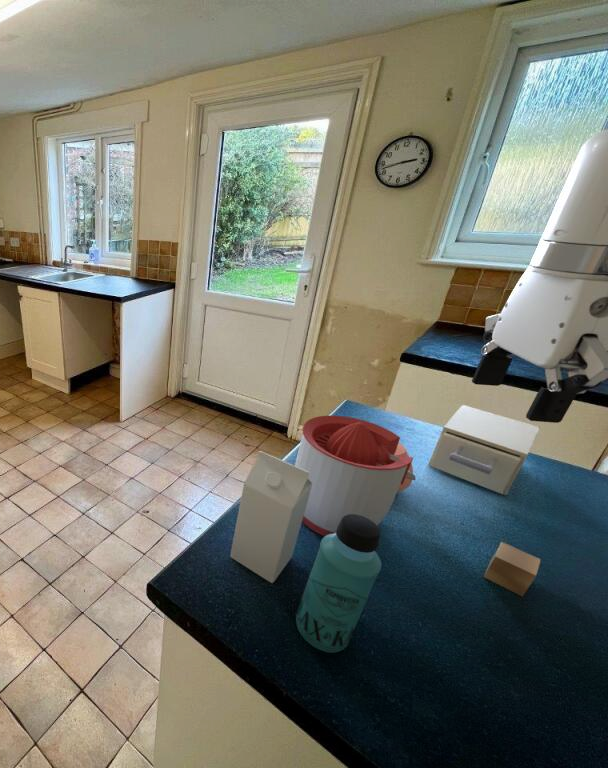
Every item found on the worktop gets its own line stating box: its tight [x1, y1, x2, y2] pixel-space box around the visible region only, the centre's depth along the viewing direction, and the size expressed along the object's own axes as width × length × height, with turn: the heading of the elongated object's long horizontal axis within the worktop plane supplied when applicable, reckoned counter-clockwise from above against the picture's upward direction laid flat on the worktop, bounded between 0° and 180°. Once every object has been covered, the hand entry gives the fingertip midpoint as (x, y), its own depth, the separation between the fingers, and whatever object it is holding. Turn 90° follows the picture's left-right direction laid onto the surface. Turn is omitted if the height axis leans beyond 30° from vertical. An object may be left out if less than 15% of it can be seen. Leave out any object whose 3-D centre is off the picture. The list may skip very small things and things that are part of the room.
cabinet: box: [427, 404, 541, 496], centre depth 86 cm, size 15×13×10 cm
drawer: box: [430, 433, 521, 495], centre depth 83 cm, size 19×11×8 cm, turn 130°
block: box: [483, 541, 542, 597], centre depth 62 cm, size 4×4×4 cm
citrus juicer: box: [294, 415, 416, 537], centre depth 70 cm, size 16×17×20 cm
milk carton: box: [229, 450, 312, 584], centre depth 63 cm, size 7×7×19 cm
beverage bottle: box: [295, 514, 382, 654], centre depth 51 cm, size 6×7×20 cm
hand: (511, 400), depth 52 cm, fingers open, 9 cm apart
